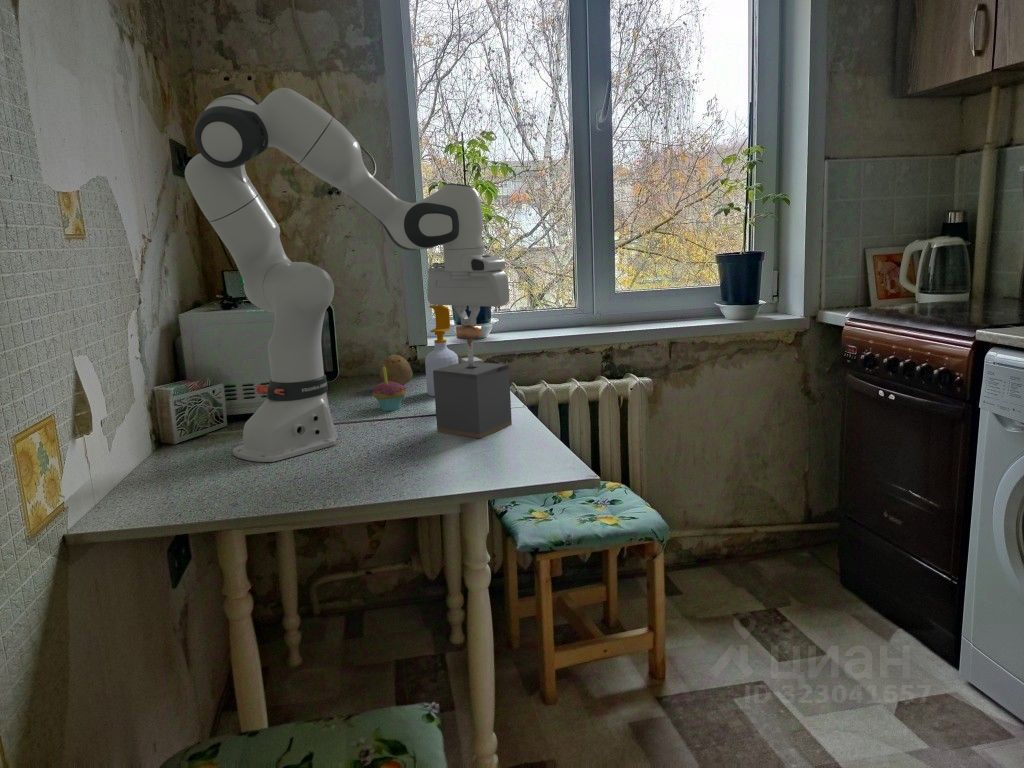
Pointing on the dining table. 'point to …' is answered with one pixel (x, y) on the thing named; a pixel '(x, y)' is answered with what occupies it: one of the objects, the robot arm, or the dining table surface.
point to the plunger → (469, 339)
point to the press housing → (472, 399)
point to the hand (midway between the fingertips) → (468, 326)
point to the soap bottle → (439, 347)
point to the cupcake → (389, 394)
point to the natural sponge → (396, 369)
